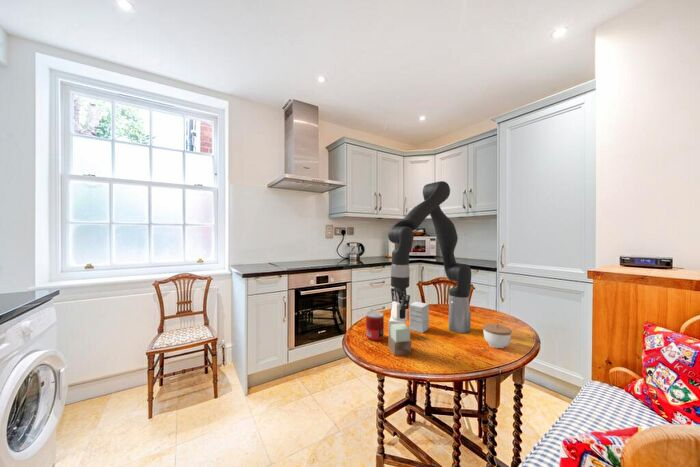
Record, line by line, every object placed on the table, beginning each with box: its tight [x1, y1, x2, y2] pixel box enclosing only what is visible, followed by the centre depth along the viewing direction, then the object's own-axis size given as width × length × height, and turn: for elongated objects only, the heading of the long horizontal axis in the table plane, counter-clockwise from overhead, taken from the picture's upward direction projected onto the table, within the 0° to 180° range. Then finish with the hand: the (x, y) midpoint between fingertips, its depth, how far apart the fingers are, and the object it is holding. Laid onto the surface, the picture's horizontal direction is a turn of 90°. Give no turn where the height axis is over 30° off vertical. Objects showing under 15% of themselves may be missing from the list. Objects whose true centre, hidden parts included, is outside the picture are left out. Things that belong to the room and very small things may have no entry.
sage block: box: [389, 323, 411, 342], centre depth 106 cm, size 6×6×5 cm
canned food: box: [365, 311, 385, 342], centre depth 118 cm, size 8×8×11 cm
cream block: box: [391, 300, 408, 320], centre depth 105 cm, size 5×5×6 cm
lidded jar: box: [482, 322, 513, 349], centre depth 110 cm, size 11×11×9 cm
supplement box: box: [408, 301, 430, 334], centre depth 128 cm, size 7×7×13 cm
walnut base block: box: [387, 335, 412, 356], centre depth 105 cm, size 7×7×5 cm
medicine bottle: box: [388, 308, 407, 336], centre depth 122 cm, size 7×7×12 cm
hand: (399, 316), depth 105 cm, fingers closed on cream block, 4 cm apart
